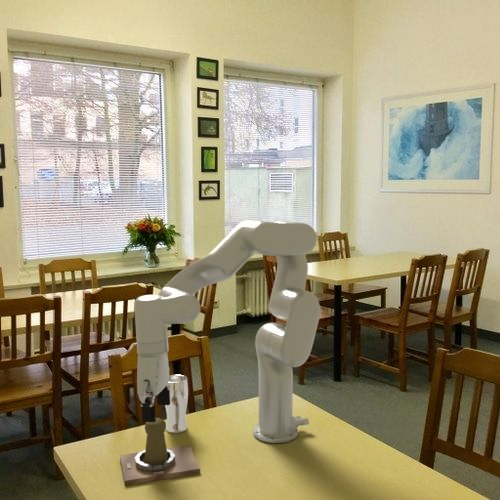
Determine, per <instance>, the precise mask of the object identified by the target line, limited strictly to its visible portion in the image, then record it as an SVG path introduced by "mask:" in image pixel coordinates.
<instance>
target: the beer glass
mask: <svg viewBox="0 0 500 500" xmlns="http://www.w3.org/2000/svg"><path fill="white" fill-rule="evenodd" d="M169 378H170V380H169V385H170V388H169V389H168V390H170V405H164V406H165V411H166V412H165V413H166V429H165V431H167V432H168V433H170V434H180V433H183V432H185V431H186V430H187V429H188V425H187V419H186V415H187V407H188V406H187V405H188V401H189V400H188V399H189V386H188V385H189V383H188V377H187V376H186V375H181V374H171V375H170V374H169Z"/></svg>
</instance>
